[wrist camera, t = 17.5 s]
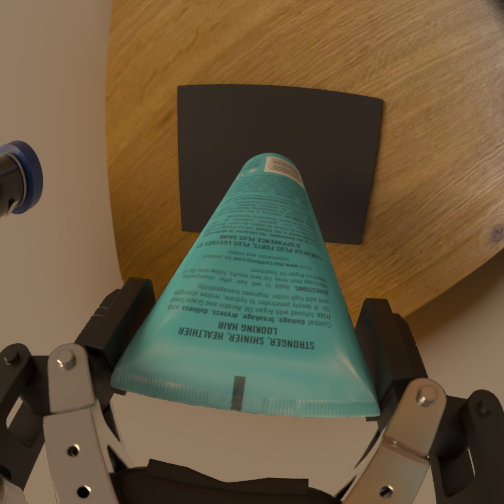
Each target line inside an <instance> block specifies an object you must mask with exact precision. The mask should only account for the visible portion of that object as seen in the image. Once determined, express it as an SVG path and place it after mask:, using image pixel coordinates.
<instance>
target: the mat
mask: <svg viewBox="0 0 504 504" xmlns="http://www.w3.org/2000/svg"><path fill="white" fill-rule="evenodd" d="M381 109H382V99H378V98H373V97H367V96H362V95H356V94H349V93H343V92H335V91H328V90H320V89H310V88H300V87H288V86H272V85H246V84H211V85H185V86H178V96H177V110H178V161H179V185H180V204H181V220H182V231H191V232H202V231H203V229H204V228H205V226H206V225H207V223H208V222H209V220H210V218H211V217H212V215H213V214H214V212H215V211H216V209H217V207H218V206H219V204H220V203H221V201H222V200H223V198H224V197H225V195H226V193H227V192H228V190H229V189H230V187H231V185H232V184H233V182H234V181H235V179H236V177H237V176H238V174H239V173H240V171H241V169H242V168H243V166H244V165H245V164H246V163H247V162H248V161H249V160H250V159H251V158H253V157H255V156H257V155H259V154H263V153H276V154H280V155H282V156H284V157H286V158H288V159H289V160H291V161H292V162H293V163H294V164H295V166H296V167H297V169H298V171H299V172H300V175H301V178H302V180H303V183H304V186H305V189H306V192H307V195H308V197H309V200H310V203H311V206H312V208H313V211H314V214H315V217H316V220H317V223H318V225H319V228H320V231H321V234H322V237H323V240H324V242H334V243H346V244H357V245H360V243H361V239H362V234H363V229H364V224H365V219H366V214H367V208H368V203H369V197H370V191H371V186H372V179H373V173H374V166H375V160H376V152H377V145H378V137H379V128H380V119H381Z"/></svg>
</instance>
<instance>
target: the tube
mask: <svg viewBox="0 0 504 504" xmlns="http://www.w3.org/2000/svg"><path fill="white" fill-rule="evenodd" d="M110 386H111V387H112V388H116V389H120V390H124V391H129V392H134V393H138V394H142V395H145V396H149V397H153V398H158V399H163V400H168V401H173V402H179V403H184V404H189V405H196V406H204V407H211V408H216V409H223V410H235V411H239V412H246V413H253V414H266V415H281V416H289V417H304V418H313V417H314V418H334V417H362V416H364V417H377V416H380V414H381V413H380V407H379V404H378V398H377V394H376V390H375V387H374V384H373V381H372V378H371V376H370V373H369V370H368V367H367V364H366V362H365V359H364V356H363V353H362V350H361V347H360V345H359V342H358V339H357V336H356V333H355V330H354V327H353V324H352V321H351V318H350V315H349V312H348V309H347V306H346V303H345V301H344V298H343V295H342V292H341V289H340V286H339V283H338V281H337V278H336V275H335V272H334V269H333V266H332V263H331V260H330V257H329V254H328V252H327V249H326V246H325V243H324V240H323V237H322V234H321V231H320V228H319V225H318V223H317V220H316V217H315V214H314V211H313V208H312V206H311V203H310V200H309V197H308V195H307V192H306V189H305V186H304V183H303V180H302V178H301V175H300V172H299V171H298V169H297V167H296V166H295V164H294V163H293V162H292V161H291V160H289V159H288V158H286V157H284V156H282V155H280V154H276V153H263V154H259V155H257V156H255V157H253V158H251V159H250V160H249V161H248V162H247V163H246V164H245V165H244V166H243V168H242V169H241V171H240V173H239V174H238V176H237V177H236V179H235V181H234V182H233V184H232V185H231V187H230V189H229V190H228V192H227V193H226V195H225V197H224V198H223V200H222V201H221V203H220V204H219V206H218V207H217V209H216V211H215V212H214V214H213V215H212V217H211V218H210V220H209V222H208V223H207V225H206V226H205V228H204V229H203V231H202V233H201V234H200V236H199V237H198V239H197V240H196V242H195V243H194V245H193V246H192V248H191V249H190V251H189V253H188V254H187V256H186V257H185V259H184V260H183V262H182V263H181V265H180V267H179V268H178V270H177V271H176V273H175V274H174V276H173V277H172V279H171V280H170V282H169V283H168V285H167V286H166V288H165V289H164V291H163V293H162V294H161V296H160V297H159V299H158V300H157V302H156V303H155V305H154V306H153V308H152V309H151V311H150V312H149V314H148V316H147V317H146V319H145V320H144V322H143V324H142V325H141V327H140V328H139V329H138V331H137V332H136V334H135V335H134V337H133V338H132V340H131V342H130V343H129V345H128V346H127V348H126V349H125V351H124V352H123V354H122V355H121V357H120V359H119V360H118V362H117V364H116V366H115V368H114V371H113V373H112V375H111V379H110Z"/></svg>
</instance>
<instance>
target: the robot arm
mask: <svg viewBox="0 0 504 504" xmlns="http://www.w3.org/2000/svg"><path fill="white" fill-rule="evenodd" d="M27 193H28V180H27V175H26V171H25V168H24V166H23V164H22V162H21V161H20V159H19V158H18V157H17V156H16V155H15V154H13V153H11V152H5V153H2V154H0V218H1V217H3V216H4V215H6V216H8V215H9V214H10V213H11V212H12V210H14V209H16V208H18V207H20V206H21V205H22V204H23V203H24V202H25V200H26V197H27ZM155 303H156V301H155V296H154V290H153V285H152V282H151V280H150V279H142V278H133V277H131V278H129V279H128V280H127V282H126V283H125V285H124V286H123V287H122V289H121V290H120V289H116V290H115V291H113V292H112V293H111V294H109V295H108V296H106V298H105V299H104V300H103V302H102V303H101V304H100V306H99V308H98V309H97V310H96V311H95V313H94V316H92V317H91V319H90V320H89V322H88V323H87V324H86V326H85V327H84V329H83V330H82V332H81V333H80V334H79V336H78V337H77V339H76V341H75V342H74V343H69V344H64V345H61V346H59V347H58V348H56V349H55V350H54V351H53V352H52V353H51V354H50V356H32V355H31V353H30V352H29V350H28V348H27V347H26V346H25V345H23V344H20V343H16V344H12V345H9V346H7V347H6V348H5V349H4V350H2V352H1V353H0V504H28V503H27V502H26V501H25V496H24V494H23V491H24V488H25V485H26V483H27V480H28V478H29V476H30V474H31V471H32V469H33V467H34V464H35V462H36V460H37V457H38V455H39V453H40V451H41V449H42V447H43V444H44V442H45V444H46V451H47V458H48V464H49V469H50V474H51V479H52V484H53V489H54V492H55V497H56V501H57V504H412V503H413V501H414V499H415V497H416V495H417V493H418V491H419V489H420V487H421V485H422V483H423V481H424V478H425V476H426V474H427V472H428V469H429V467H430V465H431V470H432V475H433V482H434V488H435V495H436V502H437V504H504V411H503V409H502V407H501V404H500V402H499V400H498V398H497V397H496V396H495V395H494V394H493V393H491V392H490V391H487V390H482V389H481V390H476V391H474V392H473V393H472V394H471V395H470V397H469V398H468V399H463V398H458V397H452V396H448V395H446V394H445V391H444V389H443V388H442V387H441V386H440V385H439V384H438V383H437V382H436V381H434V380H432V379H429V378H428V376H427V373H426V370H425V367H424V364H423V362H422V359H421V356H420V354H419V351H418V348H417V346H415V344H416V343H415V340H414V338H413V337H412V333H411V331H410V328H409V325H408V323H407V322H406V321H405V320H404V319H403V318H402V317H401V316H400V315H399V314H395V313H392V310H391V308H390V305H389V303H388V301H387V299H376V298H366V299H365V300H364V303H363V306H362V309H361V312H360V315H359V318H358V321H357V325H356V328H355V333H356V336H357V339H358V342H359V345H360V347H361V350H362V353H363V356H364V359H365V362H366V364H367V367H368V370H369V373H370V376H371V378H372V381H373V384H374V387H375V390H376V394H377V398H378V404H379V407H380V413H381V414H380V416H377V417H366V421H377V423H378V429H377V430H376V432H375V434H374V435H373V437H372V439H371V440H370V442H369V444H368V445H367V447H366V448H365V450H364V452H363V453H362V455H361V456H360V458H359V460H358V461H357V463H356V464H355V466H354V467H353V469H352V470H351V471H350V473H349V474H348V476H347V477H346V478H345V479H344V480H343V482H342V483H341V484H340V485H339V487H338V488H337V489H336V491H335V492H334V493H333V495H330V494H328V493H326V492H323V491H321V490H318V489H315V488H311V487H308V479H288V478H263V479H256V480H248V481H239V482H230V483H229V482H222V481H219V480H217V479H214V478H212V477H209V476H206V475H204V474H202V473H199V472H197V471H195V470H192V469H190V468H188V467H184V466H179V465H175V464H170V463H166V462H161V461H157V460H153V459H150V460H149V463H148V466H147V467H144V466H143V467H134V464H133V462H132V460H131V458H130V456H129V454H128V452H127V450H126V448H125V445H124V443H123V439H122V436H121V433H120V430H119V426H118V423H117V419H116V416H115V412H114V409H113V405H112V402H111V398H112V396H113V394H114V393H116V394H120V395H125V394H126V392H127V391H124V390H120V389H116V388H112V387H111V386H110V379H111V375H112V373H113V371H114V368H115V366H116V364H117V362H118V360H119V359H120V357H121V355H122V354H123V352H124V351H125V349H126V348H127V346H128V345H129V343H130V342H131V340H132V338H133V337H134V335H135V334H136V332H137V331H138V329H139V328H140V327H141V325H142V324H143V322H144V320H145V319H146V317H147V316H148V314H149V312H150V311H151V309H152V308H153V306H154V305H155ZM18 397H20V398H21V400H22V401H23V403H22V404H21V406H20V408H19V410H18V411H17V413H16V415H15V417H14V419H13V420H12V422H11V424H10V426H9V428H8V429H7V426H6V419H7V417H8V415H9V413H10V411H11V409H12V408H13V406H14V404H15V402H16V401H17V399H18ZM468 449H470V453H471V457H472V461H473V465H474V470H475V477H474V473H473V468H472V464H471V460H470V456H469V452H468ZM427 455H428V456H429V458H427Z"/></svg>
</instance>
